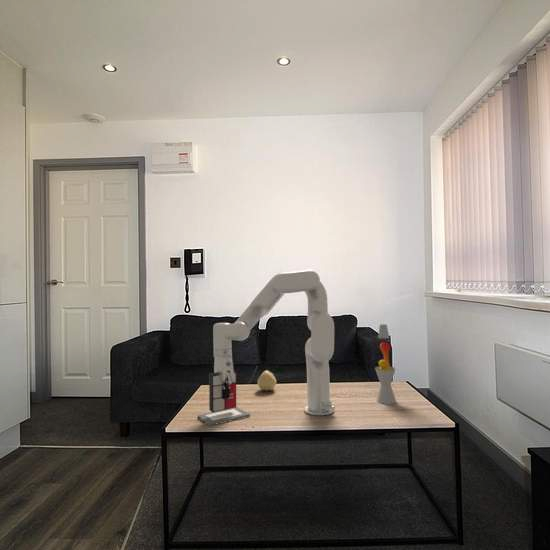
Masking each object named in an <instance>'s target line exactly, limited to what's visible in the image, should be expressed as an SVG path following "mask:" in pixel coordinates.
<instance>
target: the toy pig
mask: <svg viewBox="0 0 550 550" xmlns="http://www.w3.org/2000/svg"><path fill="white" fill-rule="evenodd" d="M256 382H257V383H256V384H257V386H258V387H259V390H260V391H274V389H275V387H276V385H277V379H276V375H275V373H273V372H271V371H270V370H268V369H267V370H264V371H263V372H262V373H261V375H260V376H258V379H257V381H256Z"/></svg>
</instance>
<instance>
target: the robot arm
mask: <svg viewBox="0 0 550 550" xmlns="http://www.w3.org/2000/svg"><path fill="white" fill-rule="evenodd" d="M320 278H321V277H320V276H319V274H318V272H316V271H314V270H313V269H306V270H301V271H300V270H299V271H291V272H289V271H288V272H279V273H277V274H274V276H273V277H272V278H271V279H270V280H269V281H268V282H267V283H266V285H265V286H264V287H263V288H262V290H260V291H259V293H258V294H257V295H256V296H255V297H254V299H253V300H252V301H251V303H250V304H249V305H248V306H247V308H246V309H245V310H244V312H243V313H242V314H241V315H240V316H239V317H238V318H237V320H236V321H234V323H229V322H217V323H214V324H213V328H212V330H213V331H212V332H213V333H212V334H213V335H212V336H213V337H212V338H213V341H212V342H213V343H212V344H213V358H214V359H213V360H214V363H213V373H218V374H219V375H220V381H222V385H223V389H222V399H227V398H230V385H231V384H232V381H231V380H234V371H235V370H234V362H233V351H232V350H233V349H232V348H233V347H232V341H240V342H241V341H244V340H246V339H247V338H248V337H249V336H250V334H251V330H252V329H253V328H254V327H255V325H256V324H257V323H258V322H259V321H260V320H261V319H263V317H264V316H267V315H268V314H269V313H271V311H272V310H273V308H274V307H275V306H276V305H277V303H278V302H279V301H280V300H281V299H282V297H284V295H285V294H293V293H294V294H295V293H300V292H304V293H305V295H306V297H307V320H306V321H307V322H306V325H307V328H308V329H309V330H310V332H311V333H310V337H309V338H308V339H307V341H306V342H305V344H304V346H305V347H304V352H305V353H304V354H305V362H306V384H307V385H306V389H307V392H306V393H307V394H306V395H307V405H306V406H304V409H303V410H304V412H305V413H306V414H308V415H311V416H327V415H328V416H329V415H331V414H333V413H334V412H335V410H336V407H335V405H333V404H332V402H333V401H332V400H331V389H330V388H331V387H330V386H331V385H330V365H329V361H330V360H331V359H332V357H333V355H334V352H335V321H334V319H333V318H332V316H331V314H329V312H328V309H329V306H328V295H327V294H328V293H327V291H326V290H327V289H326V288H325V286H324V285H323V283H322V282H321V281H320ZM225 379H227V381H225ZM226 382H227V383H226ZM225 383H226V384H225Z"/></svg>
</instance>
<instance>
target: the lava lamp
mask: <svg viewBox="0 0 550 550" xmlns="http://www.w3.org/2000/svg"><path fill="white" fill-rule="evenodd" d="M378 328H379V329H378V337H377V338H378V339H389V338H390V335H389V330H388V325H387V324H385V323H380V324H379V327H378ZM379 348H380V351H381V353H382V355H383V359H380V360H379V361H378V366H375V367H374V369H375V372H376V376H377V378H378V380H379V383H380V386H379V390H378V392H377V393H378V395H377V398H376V403H378V404H382V403H384V404H383V405H394V404H396V403H397V399H396V397H395V393H394V391H393V388H392V381H393V379H394V375H395V372H396V368H395V367H393V366H390V365H391V364H390V362H389V353H390V348H391V347H390V344H389V343H388V342H386V341H383V342H381V343H380V345H379ZM393 403H394V404H393Z"/></svg>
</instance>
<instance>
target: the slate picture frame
mask: <svg viewBox="0 0 550 550" xmlns="http://www.w3.org/2000/svg"><path fill="white" fill-rule="evenodd" d="M248 416H250V417H251V413H249V412H247V411H245V410H243V409H241V408H240V407H237V406H236V408H231V409H226V410H222V411H217V412H212V411H210V412H207V413H203V414H197V418H198V417H199V418H200V419H202V420H203V421H204V422H206V423H207V424H208V425H212V424H216V423H220V424H222V423H221V422H225V421H229V420H233V421H235V420H234V419H237V420H239V419H238V418H242V419H244V418H243V417H246V418H249V417H248ZM199 418H198V419H199ZM200 419H199V420H200ZM202 420H201V421H202ZM203 421H202V422H203ZM204 422H203V423H204ZM229 422H230V421H229ZM206 423H205V424H206ZM225 423H226V422H225ZM207 424H206V425H207ZM208 425H207V426H208ZM216 425H217V424H216ZM212 426H213V425H212Z"/></svg>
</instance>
